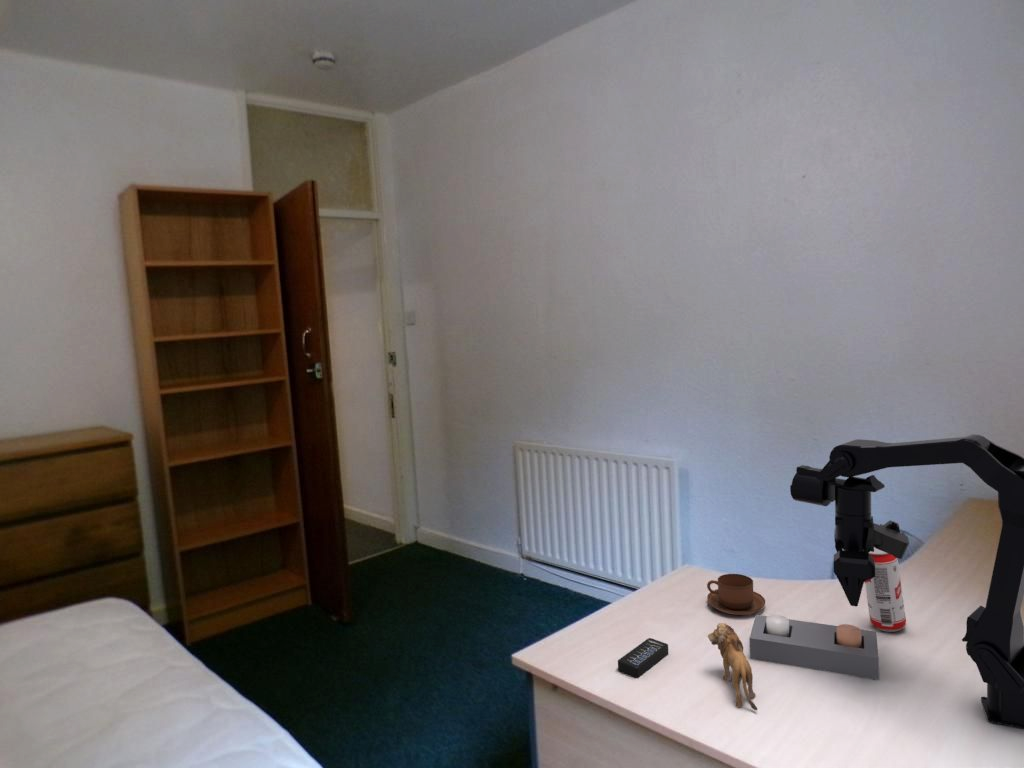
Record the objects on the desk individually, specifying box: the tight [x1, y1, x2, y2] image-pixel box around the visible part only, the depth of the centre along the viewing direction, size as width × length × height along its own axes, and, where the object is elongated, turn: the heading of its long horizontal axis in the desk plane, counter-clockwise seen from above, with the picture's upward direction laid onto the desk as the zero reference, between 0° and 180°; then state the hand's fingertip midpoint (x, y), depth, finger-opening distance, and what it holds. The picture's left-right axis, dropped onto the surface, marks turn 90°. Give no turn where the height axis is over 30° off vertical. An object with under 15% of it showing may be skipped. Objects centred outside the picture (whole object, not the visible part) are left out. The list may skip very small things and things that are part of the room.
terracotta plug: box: [836, 623, 862, 648], centre depth 119 cm, size 4×4×4 cm
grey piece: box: [766, 614, 789, 637], centre depth 124 cm, size 4×4×4 cm
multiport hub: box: [617, 637, 669, 679], centre depth 123 cm, size 4×11×2 cm, turn 136°
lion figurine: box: [707, 622, 758, 711], centre depth 113 cm, size 15×5×9 cm, turn 5°
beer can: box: [864, 547, 907, 633], centre depth 129 cm, size 6×6×16 cm
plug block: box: [748, 614, 880, 681], centre depth 122 cm, size 10×21×4 cm, turn 63°
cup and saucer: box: [706, 573, 766, 616], centre depth 143 cm, size 12×12×6 cm
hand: (853, 595), depth 118 cm, fingers open, 9 cm apart
